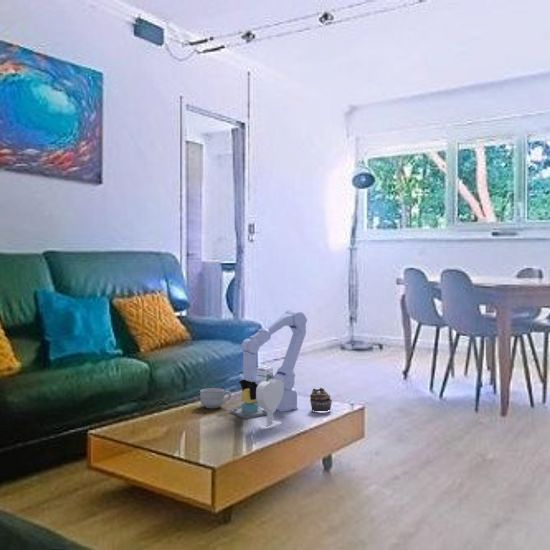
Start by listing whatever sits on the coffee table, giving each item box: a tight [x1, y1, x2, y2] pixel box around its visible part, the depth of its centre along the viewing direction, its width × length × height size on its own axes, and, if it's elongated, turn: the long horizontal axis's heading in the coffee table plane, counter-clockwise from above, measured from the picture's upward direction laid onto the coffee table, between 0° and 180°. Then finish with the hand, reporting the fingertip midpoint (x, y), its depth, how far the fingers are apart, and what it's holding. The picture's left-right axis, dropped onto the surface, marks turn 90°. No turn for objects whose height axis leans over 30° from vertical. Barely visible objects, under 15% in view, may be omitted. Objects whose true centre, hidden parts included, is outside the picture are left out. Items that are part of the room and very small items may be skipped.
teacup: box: [199, 387, 232, 409], centre depth 277 cm, size 14×11×8 cm
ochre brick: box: [241, 388, 258, 403], centre depth 266 cm, size 5×5×5 cm
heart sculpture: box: [256, 379, 284, 427], centre depth 250 cm, size 16×5×18 cm, turn 148°
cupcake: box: [309, 387, 333, 411], centre depth 272 cm, size 10×10×10 cm
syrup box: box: [257, 365, 274, 382], centre depth 298 cm, size 6×6×14 cm
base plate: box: [230, 402, 267, 420], centre depth 267 cm, size 12×12×5 cm
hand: (249, 398), depth 266 cm, fingers closed on ochre brick, 5 cm apart
